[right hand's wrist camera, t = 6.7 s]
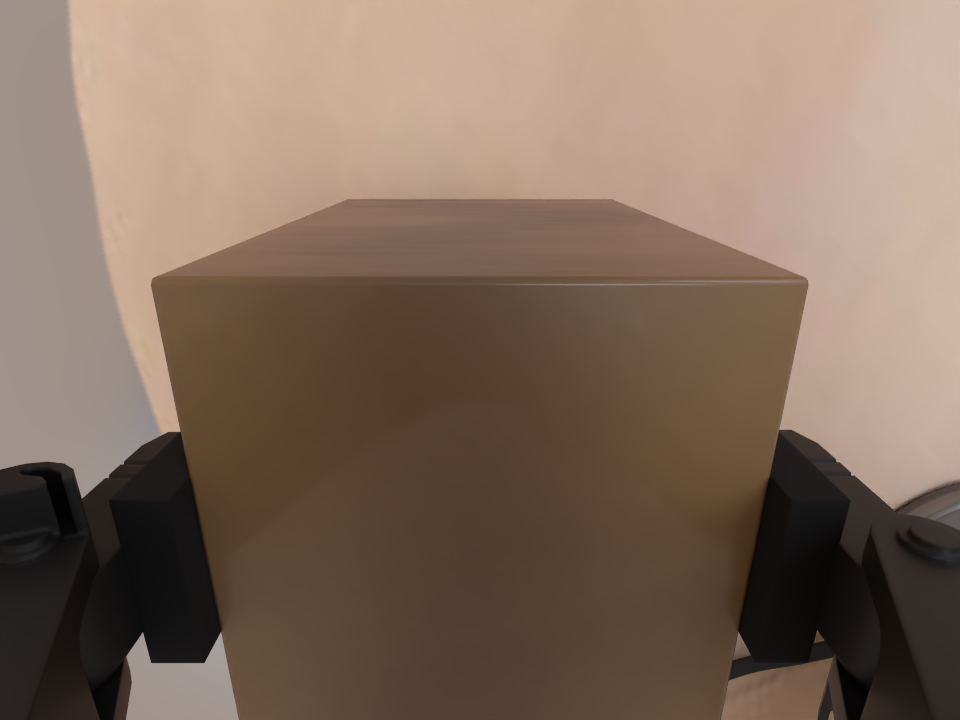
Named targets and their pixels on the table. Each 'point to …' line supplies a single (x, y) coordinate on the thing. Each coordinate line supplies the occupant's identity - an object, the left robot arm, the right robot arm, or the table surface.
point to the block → (479, 456)
